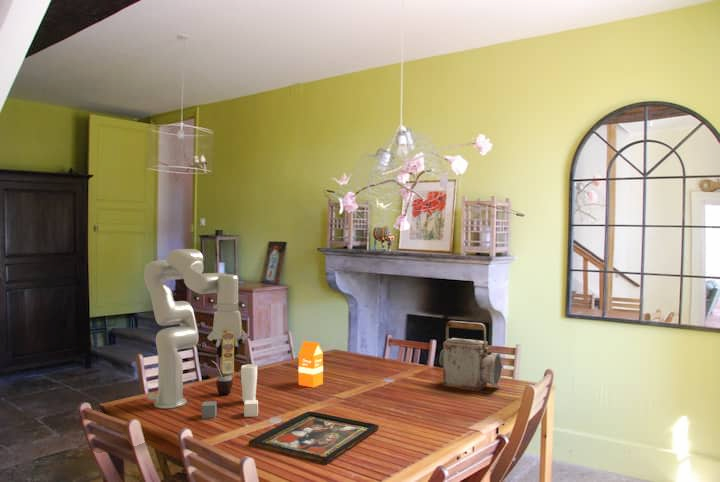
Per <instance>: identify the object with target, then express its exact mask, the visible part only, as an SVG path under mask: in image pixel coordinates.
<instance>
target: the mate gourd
mask: <svg viewBox="0 0 720 482" xmlns="http://www.w3.org/2000/svg"><path fill="white" fill-rule="evenodd" d="M211 362H212V363H214V365H215V366H216V368H217V370H218V373H219V376H217V378H216V382H215V383H216V385H215V386H216V389H217V396H220V397H221V396H227V397H228V396H230V394H231V393H232V391H231V390H232V387H233V382H234V380H233V378H232V376H231V375H230V374H222V371H221V370H220V368H219V367H220V366H219V364H218V363H216V362H215V361H213V360H211Z"/></svg>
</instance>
